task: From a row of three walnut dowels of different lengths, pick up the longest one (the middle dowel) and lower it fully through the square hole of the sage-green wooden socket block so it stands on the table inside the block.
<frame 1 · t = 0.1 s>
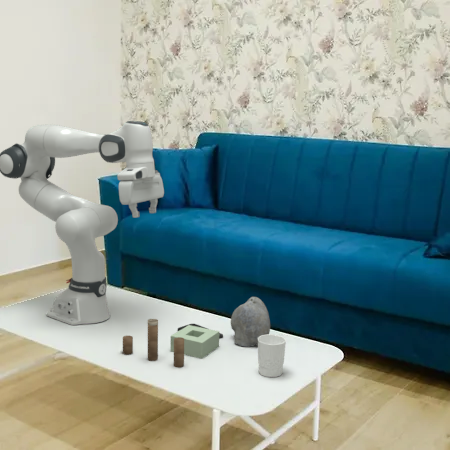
hand: (144, 215, 202), 39 cm above the table, tool pointing down, fingers open, 8 cm apart
white cup: (270, 373, 178), on the table
phone: (199, 335, 207), on the table
pin short: (127, 352, 190), on the table
decorative stone: (249, 342, 201), on the table
socket block: (195, 348, 194), on the table
pin medium: (178, 365, 182), on the table
pin long: (152, 358, 186), on the table
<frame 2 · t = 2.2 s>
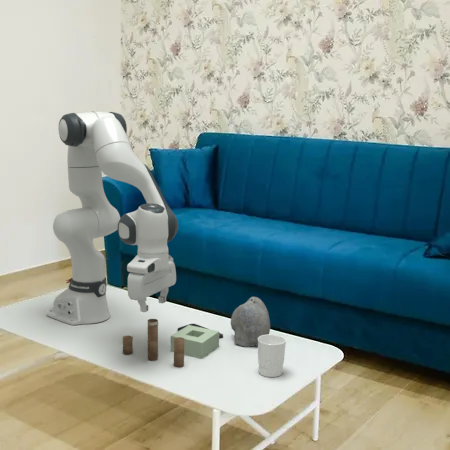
hand: (153, 307, 182), 16 cm above the table, tool pointing down, fingers open, 8 cm apart
nothing on the table moved.
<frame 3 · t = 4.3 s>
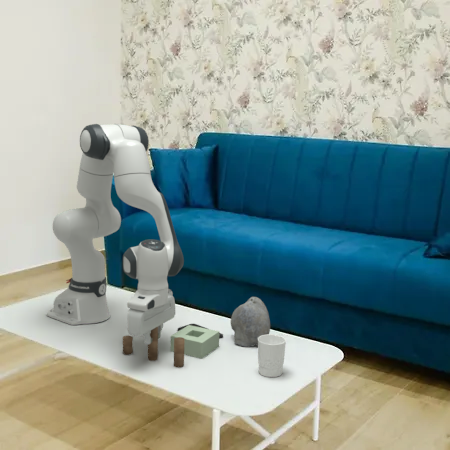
hand: (152, 341, 185), 6 cm above the table, tool pointing down, fingers closed on pin long, 3 cm apart
pin long: (152, 358, 186), on the table, touching gripper
everything else where it was.
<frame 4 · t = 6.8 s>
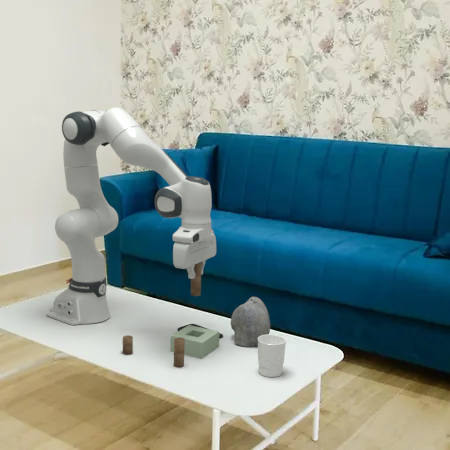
hand: (195, 276, 189), 23 cm above the table, tool pointing down, fingers closed on pin long, 3 cm apart
pin long: (195, 294, 190), point 18 cm above the table, touching gripper
everything else where it was.
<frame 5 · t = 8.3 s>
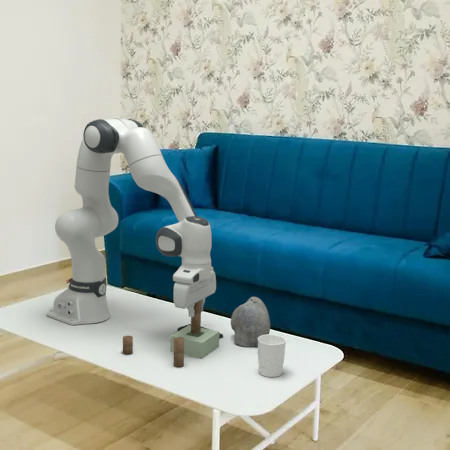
hand: (195, 314, 192), 11 cm above the table, tool pointing down, fingers closed on pin long, 3 cm apart
pin long: (195, 331, 193), point 6 cm above the table, touching gripper
everything else where it was.
when the fingers open (7 cm above the table, at t = 9.6 s): pin long stays where it is, resting in socket block.
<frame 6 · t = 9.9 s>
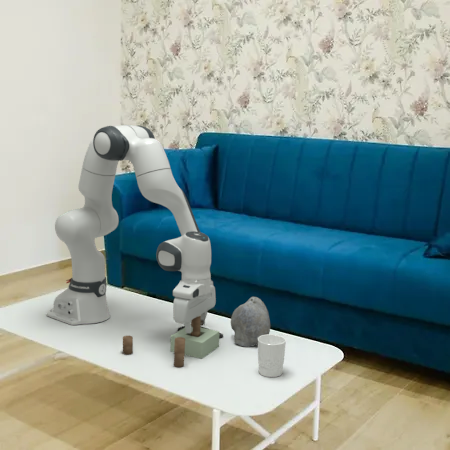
hand: (195, 328, 193), 7 cm above the table, tool pointing down, fingers open, 6 cm apart
pin long: (195, 348, 194), resting in socket block
everything else where it was.
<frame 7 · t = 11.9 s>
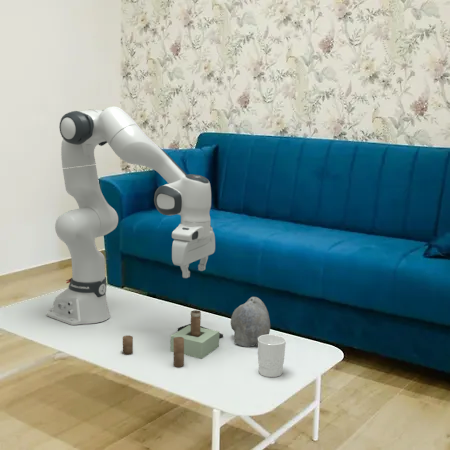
hand: (194, 273, 191), 24 cm above the table, tool pointing down, fingers open, 8 cm apart
nothing on the table moved.
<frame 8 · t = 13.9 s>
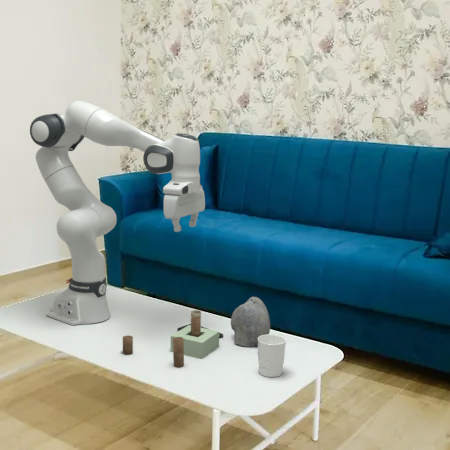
hand: (185, 228, 200), 35 cm above the table, tool pointing down, fingers open, 8 cm apart
nothing on the table moved.
at the end: pin long 0.0 cm off-centre on the socket block, point 0.0 cm above the socket block's base; pin long tilted 0°; the gripper is holding nothing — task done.
